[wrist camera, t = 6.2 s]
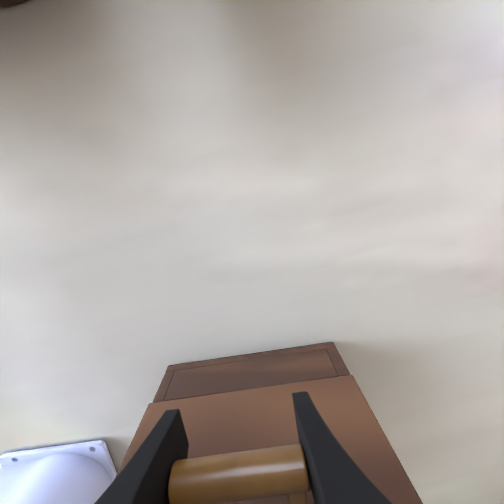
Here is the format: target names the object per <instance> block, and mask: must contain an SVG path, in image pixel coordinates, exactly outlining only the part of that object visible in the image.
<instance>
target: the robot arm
mask: <svg viewBox="0 0 504 504" xmlns="http://www.w3.org/2000/svg"><path fill="white" fill-rule="evenodd" d="M292 397H293V404H294V412H295V419H296V426H297V432H298V438H299V443H300V444H301V445H302V447H303V451H304V456H305V461H306V466H307V472H308V478H309V484H310V488H311V492H312V495H313V499H314V503H315V504H392V503H391V502H390V501H389V500H388V499H387V498H386V497H385V496H384V495H383V494H382V493H381V492H380V491H379V489H378V488H377V487H376V486H375V485H374V484H373V483H372V482H371V481H370V480H369V479H368V478H367V476H366V475H365V474H364V473H363V472H362V471H361V469H360V468H359V467H358V466H357V465H356V464H355V462H354V461H353V460H352V459H351V457H350V456H349V455H348V454H347V452H346V451H345V450H344V449H343V447H342V446H341V445H340V443H339V442H338V441H337V439H336V438H335V436H334V435H333V434H332V432H331V431H330V429H329V428H328V426H327V425H326V423H325V422H324V420H323V419H322V417H321V416H320V414H319V412H318V411H317V409H316V407H315V405H314V404H313V402H312V400H311V398H310V396H309V393H308V392H306V391H303V392H296V393H292ZM188 448H189V442H188V439H187V435H186V431H185V428H184V424H183V421H182V417H181V413H180V410H179V409H172V410H166V411H165V412H164V413H163V415H162V416H161V418H160V419H159V420H158V422H157V423H156V425H155V426H154V428H153V429H152V430H151V432H150V433H149V435H148V436H147V437H146V439H145V440H144V442H143V443H142V444H141V446H140V447H139V448H138V450H137V451H136V452H135V454H134V455H133V457H132V458H131V459H130V461H129V462H128V463H127V464H126V466H125V467H124V468H123V469H122V471H121V472H120V473H119V475H118V476H117V477H116V475H117V472H116V470H115V467H114V464H113V462H112V459H111V457H110V454H109V451H108V449H107V446H106V444H105V442H104V441H102V440H97V441H89V442H82V443H75V444H68V445H61V446H53V447H46V448H39V449H32V450H25V451H17V452H10V453H4V454H3V455H2V456H1V457H0V465H1V468H0V504H169V498H168V483H169V476H170V471H171V468H172V465H173V463H174V462H175V461H177V460H181V459H187V456H188ZM115 477H116V478H115ZM114 479H115V480H114Z"/></svg>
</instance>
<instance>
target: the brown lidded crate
mask: <svg viewBox="0 0 504 504" xmlns="http://www.w3.org/2000/svg"><path fill="white" fill-rule="evenodd" d="M347 375H350V373H349V371H348V369H347V367H346V365H345V364H344V362H343V360H342V358H341V356H340V354H339V352H338V350H337V349H336V347H335V345H334V343H333V342H328V343H321V344H314V345H307V346H300V347H293V348H287V349H280V350H273V351H266V352H259V353H252V354H245V355H238V356H232V357H225V358H218V359H211V360H204V361H197V362H190V363H183V364H176V365H170V366H168V368H167V370H166V373H165V375H164V377H163V380H162V382H161V384H160V386H159V389H158V391H157V393H156V396H155V398H154V400H153V403H156V402H163V401H170V400H177V399H184V398H192V397H199V396H206V395H213V394H220V393H227V392H234V391H241V390H248V389H255V388H262V387H269V386H276V385H283V384H290V383H297V382H304V381H311V380H318V379H325V378H333V377H340V376H347Z"/></svg>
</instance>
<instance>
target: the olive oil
mask: <svg viewBox="0 0 504 504" xmlns="http://www.w3.org/2000/svg"><path fill="white" fill-rule="evenodd" d="M25 1H27V0H0V7H9V6H14V5H17V4H20V3H23V2H25Z"/></svg>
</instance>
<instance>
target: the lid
mask: <svg viewBox="0 0 504 504" xmlns="http://www.w3.org/2000/svg"><path fill="white" fill-rule="evenodd" d="M303 391H306V392H308V393H309V396H310V398H311V400H312V402H313V404H314V405H315V407H316V409H317V411H318V412H319V414H320V416H321V417H322V419H323V420H324V422H325V423H326V425H327V426H328V428H329V429H330V431H331V432H332V434H333V435H334V436H335V438H336V439H337V441H338V442H339V443H340V445H341V446H342V447H343V449H344V450H345V451H346V452H347V454H348V455H349V456H350V457H351V459H352V460H353V461H354V462H355V464H356V465H357V466H358V467H359V468H360V469H361V471H362V472H363V473H364V474H365V475H366V476H367V478H368V479H369V480H370V481H371V482H372V483H373V484H374V485H375V486H376V487H377V488H378V489H379V491H380V492H381V493H382V494H383V495H384V496H385V497H386V498H387V499H388V500H389V501H390V502H391V503H392V504H423V503H422V501H421V499H420V497H419V496H418V494H417V492H416V490H415V488H414V487H413V485H412V483H411V481H410V479H409V477H408V476H407V474H406V472H405V470H404V468H403V466H402V465H401V463H400V461H399V459H398V457H397V456H396V454H395V452H394V450H393V448H392V446H391V445H390V443H389V441H388V439H387V437H386V436H385V434H384V432H383V430H382V428H381V426H380V425H379V423H378V421H377V419H376V417H375V416H374V414H373V412H372V410H371V408H370V406H369V405H368V403H367V401H366V399H365V397H364V395H363V394H362V392H361V390H360V388H359V386H358V385H357V383H356V381H355V379H354V377H353V376H352V375H347V376H340V377H333V378H325V379H318V380H311V381H304V382H297V383H290V384H283V385H276V386H269V387H262V388H255V389H248V390H241V391H234V392H227V393H220V394H213V395H206V396H199V397H192V398H184V399H177V400H170V401H163V402H156V403H150V404H149V405H148V407H147V409H146V412H145V414H144V416H143V418H142V420H141V423H140V425H139V427H138V429H137V431H136V433H135V436H134V438H133V440H132V442H131V444H130V446H129V449H128V451H127V453H126V455H125V457H124V459H123V462H122V464H121V466H120V468H119V470H118V473H117V475H116V477H117V476H118V475H119V473H120V472H121V471H122V469H123V468H124V467H125V466H126V464H127V463H128V462H129V461H130V459H131V458H132V457H133V455H134V454H135V452H136V451H137V450H138V448H139V447H140V446H141V444H142V443H143V442H144V440H145V439H146V437H147V436H148V435H149V433H150V432H151V430H152V429H153V428H154V426H155V425H156V423H157V422H158V420H159V419H160V418H161V416H162V415H163V413H164V412H165V411H166V410H172V409H179V410H180V413H181V417H182V421H183V424H184V428H185V431H186V435H187V439H188V442H189V448H188V456H187V459H181V460H177V461H175V462H174V463H173V465H172V468H171V471H170V476H169V483H168V498H169V504H315V503H314V499H313V495H312V492H311V488H310V484H309V478H308V472H307V466H306V461H305V456H304V451H303V447H302V445H301V444H300V443H299V438H298V432H297V426H296V419H295V412H294V404H293V397H292V393H296V392H303ZM116 477H115V478H116ZM114 480H115V479H114Z"/></svg>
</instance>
